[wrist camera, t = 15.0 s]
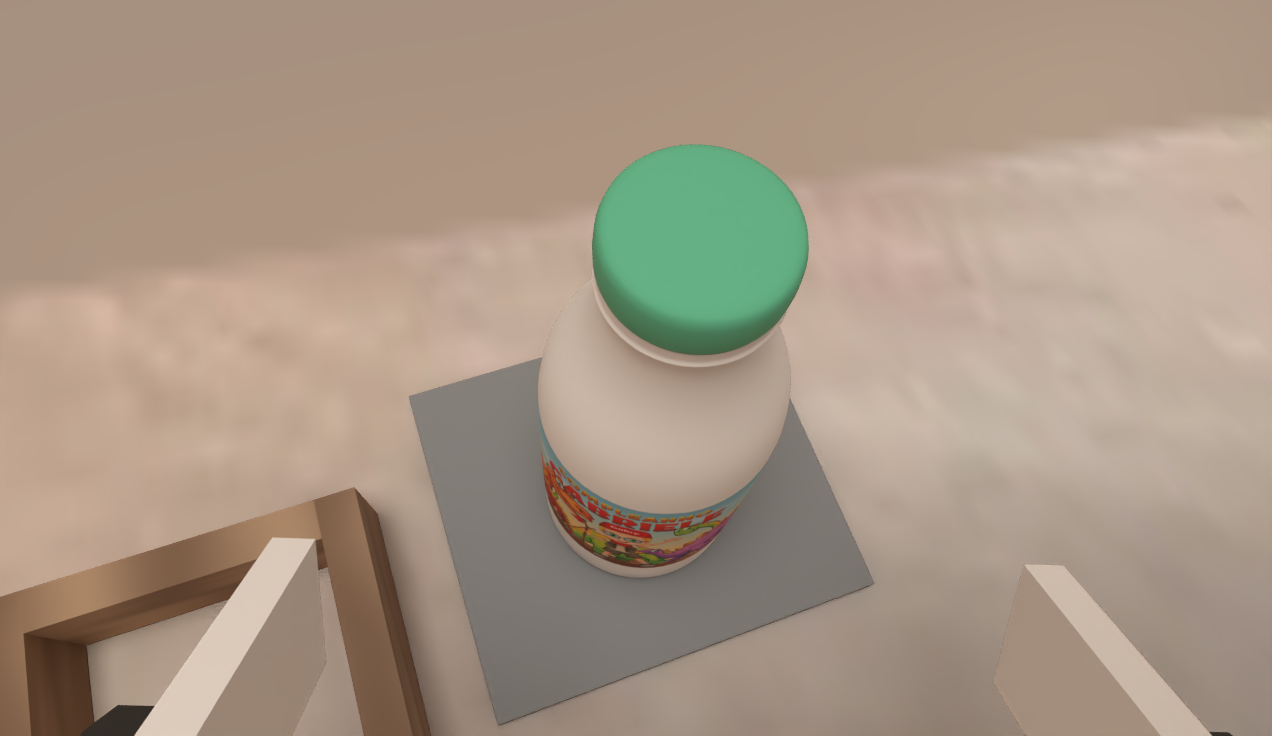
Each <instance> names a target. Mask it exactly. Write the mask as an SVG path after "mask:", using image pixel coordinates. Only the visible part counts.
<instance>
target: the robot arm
mask: <svg viewBox="0 0 1272 736" xmlns="http://www.w3.org/2000/svg"><path fill="white" fill-rule="evenodd" d="M325 664H326V653H325V642H324V631H323V619H322V608H321V597H320V585H319V574H318V563H317V551H316V540H315V539H302V538H274V537H272V539H271V540H270V542H269V543H268V544H267V546H266V547H265V549H264V550H263V552H262V553H261V554H260V556H259V557H258V559H257V560H256V562H255V563H254V565H253V566H252V567H251V569H250V570H249V572H248V573H247V575H246V576H245V577H244V579H243V580H242V582H241V583H240V585H239V586H238V587H237V589H236V590H235V592H234V593H233V595H232V596H231V598H230V599H229V600H228V602H227V603H226V605H225V606H224V608H223V609H222V610H221V612H220V613H219V615H218V616H217V618H216V619H215V621H214V622H213V623H212V625H211V626H210V628H209V629H208V631H207V632H206V633H205V635H204V636H203V638H202V639H201V641H200V642H199V643H198V645H197V646H196V648H195V649H194V651H193V652H192V654H191V655H190V656H189V658H188V659H187V661H186V662H185V664H184V665H183V666H182V668H181V669H180V671H179V672H178V674H177V675H176V676H175V678H174V679H173V681H172V682H171V684H170V685H169V687H168V688H167V689H166V691H165V692H164V694H163V695H162V697H161V698H160V699H159V701H158V702H157V704H156V705H155V706H128V705H118V706H116V707H115V708H114V709H112V710H111V711H110V712H108V713H107V714H105V715H104V716H103V717H101V718H100V719H99V720H97V721H96V722H95V723H93V724H92V725H91V726H89V727H88V728H87V729H85V730H84V731H83V732H82V733H81V734H80V736H292V735H293V733H294V731H295V728H296V726H297V724H298V722H299V720H300V718H301V716H302V713H303V711H304V709H305V707H306V705H307V703H308V701H309V698H310V696H311V694H312V692H313V690H314V688H315V686H316V683H317V681H318V679H319V677H320V675H321V673H322V671H323V668H324V666H325ZM993 682H994V684H995V686H996V687H997V689H998V691H999V692H1000V694H1001V696H1002V697H1003V699H1004V701H1005V702H1006V704H1007V706H1008V707H1009V709H1010V711H1011V712H1012V714H1013V716H1014V717H1015V719H1016V721H1017V722H1018V724H1019V726H1020V727H1021V729H1022V730H1023V732H1024V734H1025V735H1026V736H1232V735H1231V734H1230V733H1228V732H1208V730H1207V729H1206V728H1205V727H1204V726H1203V725H1202V724H1201V722H1200V721H1199V720H1198V719H1197V718H1196V717H1195V716H1194V714H1193V713H1192V712H1191V711H1190V710H1189V709H1188V708H1187V706H1186V705H1185V704H1184V703H1183V702H1182V701H1181V700H1180V698H1179V697H1178V696H1177V695H1176V694H1175V693H1174V692H1173V690H1172V689H1171V688H1170V687H1169V686H1168V685H1167V684H1166V682H1165V681H1164V680H1163V679H1162V678H1161V677H1160V676H1159V674H1158V673H1157V672H1156V671H1155V670H1154V669H1153V668H1152V666H1151V665H1150V664H1149V663H1148V662H1147V661H1146V660H1145V658H1144V657H1143V656H1142V655H1141V654H1140V653H1139V652H1138V650H1137V649H1136V648H1135V647H1134V646H1133V645H1132V644H1131V642H1130V641H1129V640H1128V639H1127V638H1126V637H1125V636H1124V634H1123V633H1122V632H1121V631H1120V630H1119V629H1118V628H1117V626H1116V625H1115V624H1114V623H1113V622H1112V621H1111V620H1110V618H1109V617H1108V616H1107V615H1106V614H1105V613H1104V612H1103V610H1102V609H1101V608H1100V607H1099V606H1098V605H1097V604H1096V602H1095V601H1094V600H1093V599H1092V598H1091V597H1090V596H1089V594H1088V593H1087V592H1086V591H1085V590H1084V589H1083V587H1082V586H1081V585H1080V584H1079V583H1078V582H1077V581H1076V579H1075V578H1074V577H1073V576H1072V575H1071V574H1070V573H1069V571H1068V570H1067V569H1066V568H1065V567H1064V566H1060V565H1032V564H1024V565H1023V569H1022V573H1021V576H1020V580H1019V584H1018V588H1017V592H1016V596H1015V600H1014V603H1013V607H1012V611H1011V615H1010V619H1009V623H1008V626H1007V630H1006V634H1005V638H1004V642H1003V646H1002V650H1001V653H1000V657H999V661H998V665H997V669H996V673H995V676H994V680H993Z"/></svg>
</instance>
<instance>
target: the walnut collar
mask: <svg viewBox="0 0 1272 736" xmlns="http://www.w3.org/2000/svg"><path fill="white" fill-rule="evenodd" d="M272 537H274V538H302V539H315V540H316V551H317V563H318V570H319V569H322V568H325V567H328V570H329V574H330V579H331V584H332V588H333V593H334V598H335V602H336V607H337V612H338V616H339V621H340V626H341V630H342V635H343V640H344V644H345V649H346V654H347V658H348V663H349V668H350V672H351V677H352V681H353V686H354V691H355V695H356V700H357V705H358V709H359V714H360V719H361V723H362V728H363V733H364V736H431V733H430V729H429V725H428V721H427V717H426V713H425V709H424V704H423V700H422V696H421V692H420V688H419V684H418V680H417V676H416V671H415V667H414V663H413V659H412V655H411V651H410V647H409V643H408V639H407V634H406V630H405V626H404V622H403V618H402V614H401V610H400V606H399V601H398V597H397V593H396V589H395V585H394V581H393V577H392V573H391V569H390V564H389V560H388V556H387V552H386V548H385V544H384V540H383V536H382V531H381V527H380V523H379V519H378V515H377V513H376V512H375V511H374V509H373V508H372V507H371V506H370V505H369V504H368V503H367V501H366V500H365V499H364V498H363V497H362V496H361V494H360V493H359V492H358V491H357V490H356V489H355V488H351V489H348V490H344V491H341V492H338V493H335V494H331V495H328V496H325V497H322V498H319V499H315V500H312V501H309V502H306V503H302V504H299V505H296V506H293V507H289V508H286V509H283V510H280V511H277V512H273V513H270V514H267V515H264V516H260V517H257V518H254V519H251V520H247V521H244V522H241V523H238V524H234V525H231V526H228V527H225V528H222V529H218V530H215V531H212V532H209V533H205V534H202V535H199V536H196V537H192V538H189V539H186V540H183V541H180V542H176V543H173V544H170V545H167V546H163V547H160V548H157V549H154V550H150V551H147V552H144V553H141V554H138V555H134V556H131V557H128V558H125V559H121V560H118V561H115V562H112V563H108V564H105V565H102V566H99V567H95V568H92V569H89V570H86V571H83V572H79V573H76V574H73V575H70V576H66V577H63V578H60V579H57V580H53V581H50V582H47V583H44V584H41V585H37V586H34V587H31V588H28V589H24V590H21V591H18V592H15V593H11V594H8V595H5V596H2V597H0V736H80V734H81V733H82V732H83V731H84V730H85V729H87V728H88V727H89V726H91V725H92V724H93V723H94V720H93V710H92V701H91V691H90V681H89V671H88V662H87V652H86V645H89V644H92V643H95V642H98V641H101V640H104V639H107V638H110V637H113V636H116V635H119V634H122V633H125V632H129V631H132V630H135V629H138V628H141V627H144V626H147V625H150V624H153V623H156V622H159V621H162V620H165V619H168V618H172V617H175V616H178V615H181V614H184V613H187V612H190V611H193V610H196V609H199V608H202V607H205V606H208V605H211V604H215V603H218V602H221V601H224V600H227V599H230V598H231V596H232V595H233V593H234V592H235V590H236V589H237V587H238V586H239V585H240V583H241V582H242V580H243V579H244V577H245V576H246V575H247V573H248V572H249V570H250V569H251V567H252V566H253V565H254V563H255V562H256V560H257V559H258V557H259V556H260V554H261V553H262V552H263V550H264V549H265V547H266V546H267V544H268V543H269V542H270V540H271V539H272Z"/></svg>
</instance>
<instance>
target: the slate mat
mask: <svg viewBox="0 0 1272 736" xmlns="http://www.w3.org/2000/svg"><path fill="white" fill-rule="evenodd" d="M541 361H542V358H538V359H535V360H531V361H528V362H524V363H521V364H518V365H514V366H511V367H507V368H504V369H500V370H497V371H494V372H490V373H487V374H483V375H480V376H476V377H473V378H470V379H466V380H463V381H459V382H456V383H453V384H449V385H446V386H442V387H439V388H435V389H432V390H429V391H425V392H422V393H418V394H415V395H411V396H409V399H410V403H411V407H412V410H413V414H414V418H415V421H416V425H417V429H418V432H419V436H420V440H421V443H422V447H423V451H424V454H425V458H426V462H427V465H428V469H429V473H430V477H431V480H432V484H433V488H434V491H435V495H436V499H437V502H438V506H439V510H440V513H441V517H442V521H443V524H444V528H445V532H446V535H447V539H448V543H449V546H450V550H451V554H452V557H453V561H454V565H455V568H456V572H457V576H458V580H459V583H460V587H461V591H462V594H463V598H464V602H465V605H466V609H467V613H468V616H469V620H470V624H471V627H472V631H473V635H474V638H475V642H476V646H477V649H478V653H479V657H480V660H481V664H482V668H483V671H484V675H485V679H486V683H487V686H488V690H489V694H490V697H491V701H492V705H493V708H494V712H495V716H496V719H497V723H498V725H501V724H504V723H507V722H509V721H512V720H515V719H517V718H520V717H523V716H525V715H528V714H530V713H533V712H536V711H538V710H541V709H544V708H546V707H549V706H552V705H554V704H557V703H560V702H562V701H565V700H568V699H570V698H573V697H576V696H578V695H581V694H583V693H586V692H589V691H591V690H594V689H597V688H599V687H602V686H605V685H607V684H610V683H613V682H615V681H618V680H621V679H623V678H626V677H629V676H631V675H634V674H637V673H639V672H642V671H644V670H647V669H650V668H652V667H655V666H658V665H660V664H663V663H666V662H668V661H671V660H674V659H676V658H679V657H682V656H684V655H687V654H690V653H692V652H695V651H697V650H700V649H703V648H705V647H708V646H711V645H713V644H716V643H719V642H721V641H724V640H727V639H729V638H732V637H735V636H737V635H740V634H743V633H745V632H748V631H750V630H753V629H756V628H758V627H761V626H764V625H766V624H769V623H772V622H774V621H777V620H780V619H782V618H785V617H788V616H790V615H793V614H796V613H798V612H801V611H804V610H806V609H809V608H811V607H814V606H817V605H819V604H822V603H825V602H827V601H830V600H833V599H835V598H838V597H841V596H843V595H846V594H849V593H851V592H854V591H857V590H859V589H862V588H864V587H867V586H870V585H872V584H874V582H873V579H872V577H871V575H870V573H869V571H868V568H867V566H866V564H865V562H864V560H863V558H862V555H861V553H860V551H859V549H858V547H857V544H856V542H855V540H854V538H853V536H852V533H851V531H850V529H849V527H848V525H847V522H846V520H845V518H844V516H843V514H842V511H841V509H840V507H839V505H838V503H837V500H836V498H835V496H834V494H833V492H832V490H831V487H830V485H829V483H828V481H827V479H826V476H825V474H824V472H823V470H822V468H821V465H820V463H819V461H818V459H817V457H816V454H815V452H814V450H813V448H812V446H811V443H810V441H809V439H808V437H807V435H806V432H805V430H804V428H803V426H802V424H801V422H800V419H799V417H798V415H797V413H796V411H795V408H794V406H793V404H792V402H791V400H789V406H788V411H787V415H786V418H785V422H784V425H783V429H782V432H781V435H780V437H779V440H778V442H777V444H776V446H775V448H774V450H773V452H772V454H771V455H770V457H769V459H768V461H767V463H766V465H765V466H764V468H763V470H762V472H761V473H760V475H759V476H758V478H757V479H756V481H755V482H754V484H753V485H752V487H751V488H750V490H749V492H748V493H747V495H746V496H745V498H744V499H743V500H742V502H741V503H740V505H739V506H738V508H737V509H736V510H735V512H734V513H733V515H732V516H731V518H730V519H729V520H728V522H727V523H726V525H725V526H724V528H723V529H722V530H721V532H720V533H719V534H718V536H717V537H716V539H715V540H714V541H713V542H712V543H711V544H710V546H709V547H708V548H707V549H706V550H705V551H704V552H703V553H702V554H701V555H700V556H699V557H697V558H696V559H695V560H693V561H692V562H690V563H689V564H687V565H686V566H684V567H682V568H680V569H678V570H676V571H673V572H670V573H667V574H664V575H660V576H655V577H646V578H634V577H625V576H619V575H615V574H612V573H609V572H606V571H603V570H601V569H599V568H597V567H595V566H593V565H592V564H590V563H588V562H587V561H585V560H584V559H583V558H581V557H580V556H579V555H578V554H577V553H576V552H574V551H573V550H572V549H571V547H570V546H569V545H568V544H567V543H566V542H565V540H564V539H563V537H562V536H561V535H560V533H559V531H558V529H557V528H556V526H555V523H554V521H553V519H552V516H551V513H550V510H549V506H548V501H547V497H546V490H545V482H544V473H543V463H542V454H541V445H540V433H539V421H538V380H539V371H540V366H541Z"/></svg>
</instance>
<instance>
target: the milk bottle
mask: <svg viewBox="0 0 1272 736" xmlns="http://www.w3.org/2000/svg"><path fill="white" fill-rule="evenodd" d="M808 250H809V246H808V231H807V225H806V221H805V217H804V215H803V212H802V209H801V207H800V205H799V203H798V201H797V199H796V198H795V196H794V195H793V193H792V192H791V191H790V189H789V188H788V187H787V185H786V184H785V183H784V182H783V181H782V180H781V179H780V178H779V177H778V176H777V175H776V174H774V173H773V172H772V171H771V170H769V169H768V168H767V167H765V166H764V165H762V164H761V163H759V162H758V161H756V160H754V159H752V158H750V157H748V156H746V155H743V154H741V153H738V152H736V151H733V150H730V149H726V148H722V147H716V146H710V145H679V146H673V147H668V148H665V149H661V150H658V151H655V152H652V153H650V154H648V155H646V156H643V157H642V158H640V159H638V160H636V161H635V162H634V163H632V164H631V165H629V166H628V167H627V168H626V169H624V170H623V171H622V172H621V173H620V174H619V175H618V176H617V177H616V178H615V180H614V181H613V182H612V184H611V185H610V187H609V188H608V190H607V192H606V193H605V195H604V197H603V199H602V201H601V203H600V205H599V208H598V211H597V214H596V218H595V223H594V231H593V240H592V256H593V262H592V271H591V276H592V278H591V279H590V280H589V281H588V282H587V283H585V284H584V285H583V286H582V287H581V288H580V289H579V290H578V291H577V292H576V293H575V295H574V296H573V297H572V298H571V299H570V301H569V302H568V303H567V305H566V306H565V307H564V309H563V310H562V311H561V313H560V315H559V317H558V318H557V320H556V322H555V324H554V326H553V328H552V330H551V333H550V335H549V337H548V339H547V342H546V346H545V349H544V352H543V357H542V361H541V366H540V371H539V380H538V421H539V433H540V445H541V454H542V463H543V473H544V482H545V490H546V497H547V501H548V506H549V510H550V513H551V516H552V519H553V521H554V523H555V526H556V528H557V529H558V531H559V533H560V535H561V536H562V537H563V539H564V540H565V542H566V543H567V544H568V545H569V546H570V547H571V549H572V550H573V551H574V552H576V553H577V554H578V555H579V556H580V557H581V558H583V559H584V560H585V561H587V562H588V563H590V564H592V565H593V566H595V567H597V568H599V569H601V570H603V571H606V572H609V573H612V574H615V575H619V576H625V577H634V578H646V577H655V576H660V575H664V574H667V573H670V572H673V571H676V570H678V569H680V568H682V567H684V566H686V565H687V564H689V563H690V562H692V561H693V560H695V559H696V558H697V557H699V556H700V555H701V554H702V553H703V552H704V551H705V550H706V549H707V548H708V547H709V546H710V544H711V543H712V542H713V541H714V540H715V539H716V537H717V536H718V534H719V533H720V532H721V530H722V529H723V528H724V526H725V525H726V523H727V522H728V520H729V519H730V518H731V516H732V515H733V513H734V512H735V510H736V509H737V508H738V506H739V505H740V503H741V502H742V500H743V499H744V498H745V496H746V495H747V493H748V492H749V490H750V488H751V487H752V485H753V484H754V482H755V481H756V479H757V478H758V476H759V475H760V473H761V472H762V470H763V468H764V466H765V465H766V463H767V461H768V459H769V457H770V455H771V454H772V452H773V450H774V448H775V446H776V444H777V442H778V440H779V437H780V435H781V432H782V429H783V425H784V422H785V418H786V415H787V411H788V406H789V400H790V385H791V373H790V363H789V356H788V351H787V346H786V342H785V339H784V336H783V333H782V330H781V328H780V324H781V322H782V321H783V318H784V316H785V314H786V311H787V309H788V307H789V306H790V304H791V302H792V300H793V299H794V297H795V295H796V293H797V291H798V289H799V286H800V284H801V281H802V278H803V276H804V273H805V270H806V266H807V261H808Z"/></svg>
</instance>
